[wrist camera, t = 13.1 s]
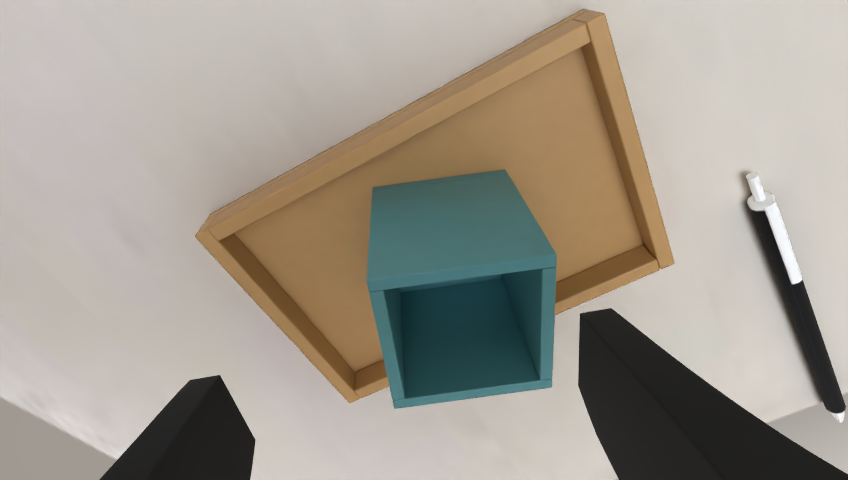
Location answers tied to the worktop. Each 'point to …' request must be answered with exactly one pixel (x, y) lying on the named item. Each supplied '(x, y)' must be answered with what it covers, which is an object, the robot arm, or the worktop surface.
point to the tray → (445, 157)
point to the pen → (794, 293)
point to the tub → (460, 289)
